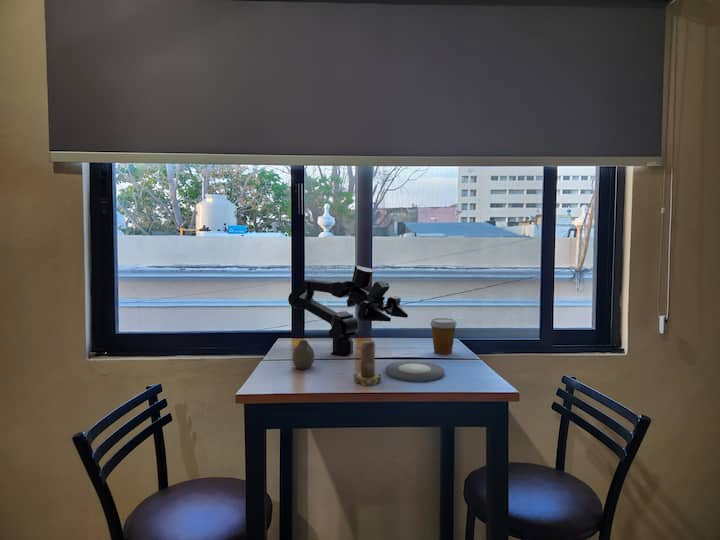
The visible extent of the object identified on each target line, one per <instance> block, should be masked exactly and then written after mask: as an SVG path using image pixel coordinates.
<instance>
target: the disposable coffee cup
mask: <svg viewBox="0 0 720 540" xmlns="http://www.w3.org/2000/svg"><path fill="white" fill-rule="evenodd" d="M429 325H430V326H431V334H432V335H431V336H432V345H433V353H435V354H437V355H440V354H441V355H442V356H448V355H452V354H453V346H454V339H455V333H456V332H455V331H456V327H457V322H456V320H455V319H453V318H444V317H439V318H438V317H437V318H432V319H431V322H430V323H429Z"/></svg>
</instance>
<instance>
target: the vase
mask: <svg viewBox="0 0 720 540" xmlns="http://www.w3.org/2000/svg"><path fill="white" fill-rule="evenodd" d="M292 362H293V365H294V366H295V368H297V369H298V370H309V369H310V368H311V367H312V366H313V364H314V362H315V352H314V349H313V348H312V346H311V345H310V344H309V342H308V340H305V339H301V340H299V342H298V343H297V345H296V347H295V348H294V350H293V353H292Z"/></svg>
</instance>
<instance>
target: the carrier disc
mask: <svg viewBox="0 0 720 540" xmlns="http://www.w3.org/2000/svg"><path fill="white" fill-rule="evenodd" d="M385 374H386V376H388V377H390V378H393V379H395V380H399V381H405V382H417V383H418V382H419V383H420V382H421V383H422V382H431V381H437V380H440V379H441V378H443V377H444V376H445V369H444V368H443V366H441V365H439V364H436V363H432V362H428V361H420V360H419V361H417V360H403V361H396V362H393V363H389V364H388V365H386V366H385Z"/></svg>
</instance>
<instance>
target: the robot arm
mask: <svg viewBox="0 0 720 540" xmlns="http://www.w3.org/2000/svg"><path fill="white" fill-rule="evenodd" d="M353 269H354V270H353V275H352V279H351V280H344V281H343V280H342V281H335V282H334V281H325V280H316V279H304V280H303V281H302V282H301V284H300V285H298V286H297V287H295V289H293V290H292V291H291V292H290V293H289V295H288V297H287V300H288V305H289V306H291V308H292V307H293V308H294V309H301V310H306V311H307V312H310V313H311V314H312V315H315V317H318V318H319V319H321V320H323V321H324V322H326V323H328V324H329V325H330V326H331V328H330V329H329V331H328V336H329V338H331V339H332V352H330V355H332V354H333V355H335V356H342V355H343V357H344V356H345V357H348V356H350V355H351V354H353V353H354V341H353V337H354V336H356V333H357V330H358V326H359V324H358V319H359V320H360V321H362V322H365V321H366V322H391V320H392V318H391V317H395V318H397V317H398V318H404V319H405V318H406V319H407V318H408V316H409V314H408V313H407V312H406V311H405V310H404V308H403V307H402V306H401V299H402V298H401V297H399V296H397V295H394V296H390V297H388V298H387V300H386V303H385V302H384V301H385V298H386V296H385V294H386V293H387V292H388V291H389V289H390V285H389V282H386V281H385V280H378V281H375V282H374V283H373V284H372V287H371V288H370V289H369V291H367V290H366V288H368V287H370V285H371V281H372V278H373V273H374V269H372V268H370V267H364V266H360V265H354V267H353ZM315 292H319V293H320V292H321V293H327V294H331V296H334V297H336V298H338V299H341V298H347V299H346V305H347V307H348V308H351V307H355V306H358V307H359V308H358V311H357V318H358V319H357V318H356V317H355V314H351V313H349V312H348V311H347V310H344V311H343V310H342V311H337V312H336V311H335V310H333V309H331V308H329V307H327V306H326V305H324V304H322V303H320V302H318V301H316V300H315V299H314V295H315ZM333 355H332V356H333Z"/></svg>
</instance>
